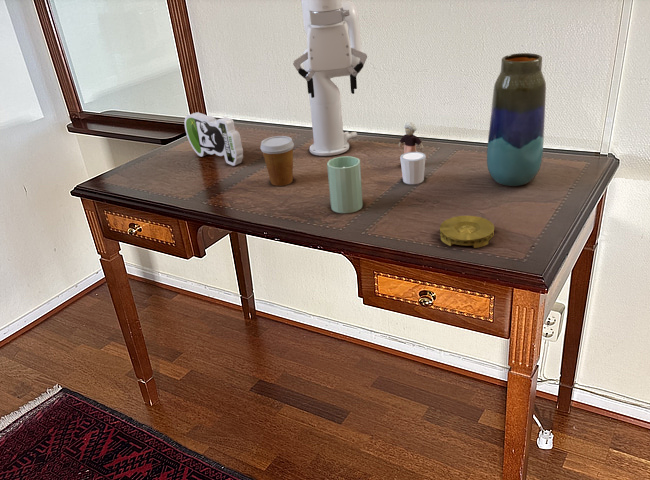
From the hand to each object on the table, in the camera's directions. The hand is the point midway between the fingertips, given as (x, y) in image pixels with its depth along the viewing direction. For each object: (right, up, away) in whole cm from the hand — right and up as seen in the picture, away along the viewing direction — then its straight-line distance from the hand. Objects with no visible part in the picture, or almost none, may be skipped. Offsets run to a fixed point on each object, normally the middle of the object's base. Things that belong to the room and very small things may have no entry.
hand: (332, 94), depth 152 cm
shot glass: (+23, -17, +22) cm, 36 cm away
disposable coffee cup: (-14, -16, +30) cm, 37 cm away
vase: (+48, -18, +16) cm, 54 cm away
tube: (+4, -25, +11) cm, 28 cm away
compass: (+30, -35, -8) cm, 47 cm away
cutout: (-36, -4, +51) cm, 63 cm away
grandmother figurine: (+23, -11, +31) cm, 40 cm away
